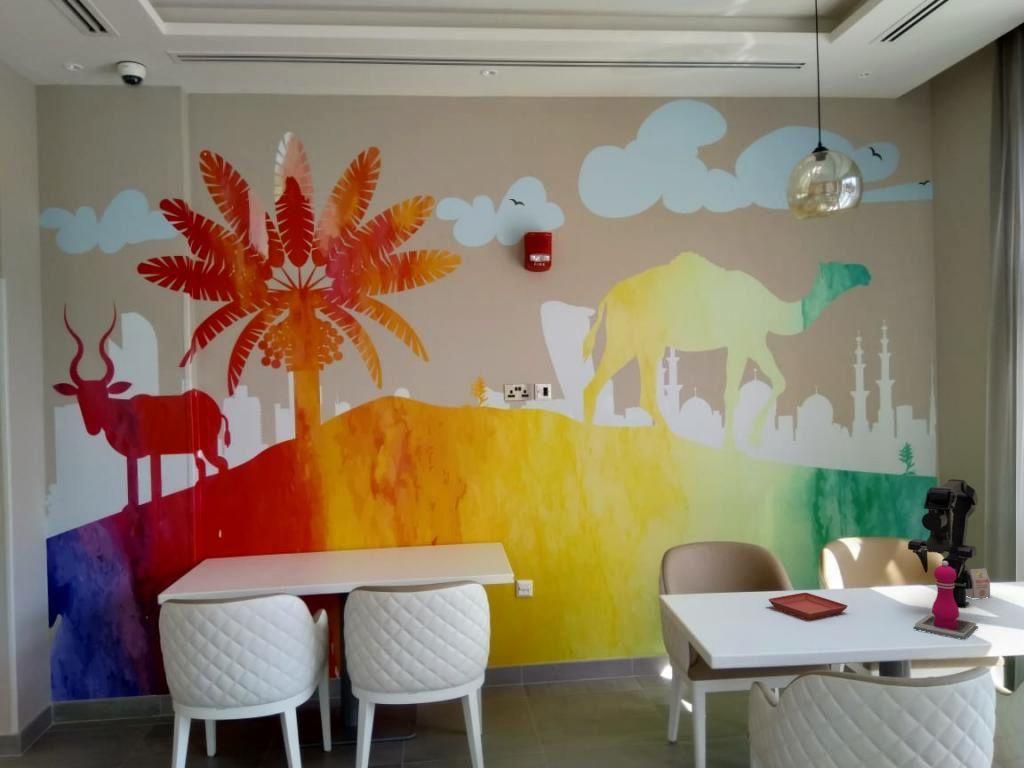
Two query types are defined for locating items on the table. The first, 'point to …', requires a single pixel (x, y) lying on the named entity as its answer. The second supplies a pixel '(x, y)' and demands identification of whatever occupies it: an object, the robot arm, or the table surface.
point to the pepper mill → (945, 598)
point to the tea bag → (979, 584)
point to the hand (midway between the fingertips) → (941, 574)
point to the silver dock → (960, 632)
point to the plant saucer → (807, 605)
